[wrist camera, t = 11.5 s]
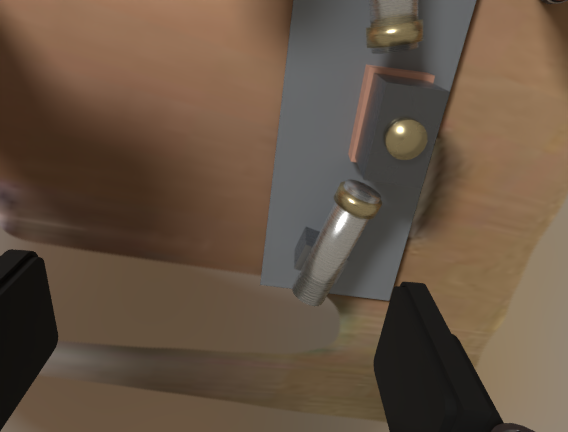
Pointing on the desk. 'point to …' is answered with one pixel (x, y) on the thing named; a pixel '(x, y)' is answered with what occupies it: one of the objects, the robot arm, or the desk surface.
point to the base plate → (346, 133)
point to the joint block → (399, 129)
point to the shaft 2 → (393, 26)
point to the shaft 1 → (333, 241)
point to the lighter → (553, 1)
